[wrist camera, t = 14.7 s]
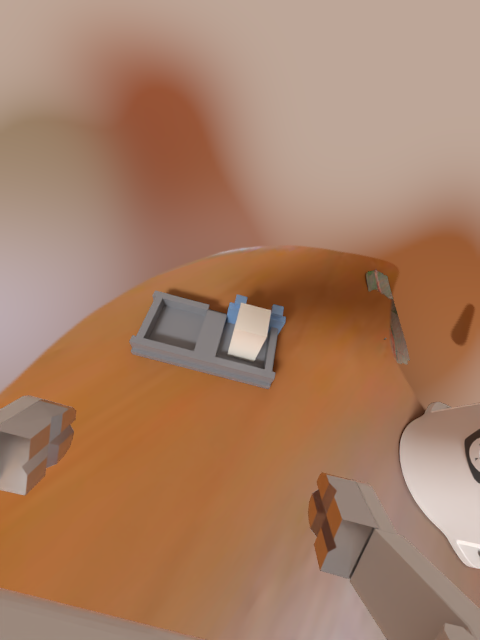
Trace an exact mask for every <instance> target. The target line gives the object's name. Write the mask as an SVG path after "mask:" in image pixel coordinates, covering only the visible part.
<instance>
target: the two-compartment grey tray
mask: <svg viewBox="0 0 480 640" xmlns="http://www.w3.org/2000/svg"><path fill="white" fill-rule="evenodd" d="M247 298H248V297H245V296H241V295H237V297H236V300H235V303H231V302H230V304H229V308H228V313H227V314H225V313H221V312H217V311H214V310H210V309H209V305H208V304H204V303H201V302H197V301H193V300H189V299H185V298H182V297H178V296H174V295H170V294H166V293H163V292H159V291H155V292H154V294H153V299H154V301H153V303H152V305H151V307H150V309H149V311H148V313H147V315H146V317H145V319H144V321H143V324H142V326H141V328H140V330H139V332H138V334H137V336H134V335H132V337H131V339H130V341H129V342H130V344H131V346H132V350H131V353H132V354H134V355H138V356H142V357H145V358H149V359H153V360H157V361H161V362H165V363H169V364H173V365H176V366H180V367H184V368H188V369H192V370H196V371H200V372H204V373H208V374H211V375H215V376H219V377H223V378H227V379H231V380H235V381H239V382H242V383H246V384H250V385H254V386H258V387H262V388H266V389H269V388H270V385H271V383H272V381H273V380H274V379H275V372H273V364H274V357H275V350H276V343H277V336H278V334H279V332H280V331H281V329H282V327H283V326H284V324H285V321H286V317H284V316H283V310H284V307H282V306H279V305H275V304H273V306H272V310H271V316H270V321H269V327H268V333H267V338H266V340H265V341H264V343H263V345H262V347H261V349H260V351H259V353H258V355H257V357H256V359H255V361H254V362H250V361H246V360H243V359H239V358H235V357H231V356H227V354H228V350H229V346H230V342H231V338H232V334H233V331H234V327H235V323H236V320H237V316H238V312H239V309H240V305H241V303H245V304H246V302H247Z"/></svg>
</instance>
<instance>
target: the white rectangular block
mask: <svg viewBox="0 0 480 640" xmlns="http://www.w3.org/2000/svg"><path fill="white" fill-rule="evenodd" d="M270 316H271V310H268V309H264V308H260V307H256V306H253V305H249V304H245V303H241V305H240V309H239V312H238V316H237V320H236V323H235V327H234V331H233V334H232V338H231V342H230V346H229V350H228V354H227V356H231V357H235V358H239V359H243V360H246V361H250V362H254V361H255V359H256V357H257V355H258V353H259V351H260V349H261V347H262V345H263V343H264V341H265V340H266V338H267V333H268V327H269V321H270Z"/></svg>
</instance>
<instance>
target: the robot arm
mask: <svg viewBox="0 0 480 640" xmlns="http://www.w3.org/2000/svg"><path fill="white" fill-rule="evenodd" d="M75 419H76V410H75V409H74V408H73V407H69V406H66V405H62V404H59V403H55V402H52V401H48V400H45V399H44V400H43V399H40V398H37V397H33V396H23V397H21V398H19V399H17V400H16V401H14V402H12V403H10V404H8V405H7V406H5V407H3V408H1V409H0V490H3V491H7V492H12V493H16V494H21V495H26V494H27V493H28V492H29V491H30V490H31V489H32V488H33V487H34V486H35V485H36V484H37V483H38V482H39V481H40V480H41V479H42V478H43V477H44V476H45V472H46V468H48V467H50V466H52V465H55V464H57V463H58V462H59V461H60V460H61V459H62V458H63V457H64V455H65V454H66V452H67V450H68V449H69V447H70V445H71V442H72V440H73V434H74V431H73V429H72V427H71V426H70V424H71V423H72V422H73V421H75ZM400 463H401V468H402V472H403V475H404V478H405V481H406V484H407V486H408V488H409V490H410V492H411V494H412V496H413V498H414V499H415V501H416V503H417V504H418V505H419V507H420V508H421V510H422V511H423V512H424V513H425V515H426V516H427V517H428V518H429V519H430V520H431V521H432V522H433V523H434V524H435V525H436V526H437V527H438V528H439V529H440V530H441V531H442V532H443V533H444V534H445V536H446V537H447V539H448V540H449V542H450V544H451V545H452V547H453V549H454V550H455V552H456V554H457V555H458V557H459V558H460V559H461V561H462V562H463V563H464V564H465V565H467V566H468V567H472V568H478V569H480V403H475V404H470V405H464V406H458V407H450V406H448V405H446V404H444V403H441V402H434V403H431V404H430V405H429V406H428V407H427V409H426V411H425V413H424V415H422V416H421V417H419V418H417V419H415V420H413V421H412V422H411V423H410V424H409V425H408V426H407V427H406V428H405V430H404V432H403V434H402V437H401V441H400ZM317 485H318V490H317V491H315V492H314V493H312V496H311V498H310V501H309V509H308V517H309V524H310V529H311V530H312V531H313V533H314V534H315V535H316V537H317V538H316V541H315V543H314V546H315V551H316V555H317V560H318V564H319V568H320V571H323V572H326V573H330V574H333V575H337V576H340V577H343V578H347V579H350V583H351V584H352V586H353V587H354V589H355V590H356V592H357V594H358V595H359V597H360V598H361V600H362V601H363V603H364V604H365V606H366V608H367V609H368V611H369V612H370V614H371V615H372V617H373V619H374V620H375V622H376V623H377V625H378V626H379V628H380V630H381V631H382V633H383V634H384V636H385V637H386V639H387V640H480V609H479V608H478V607H477V606H476V605H475V604H474V603H473V602H472V601H471V600H470V599H469V598H468V597H467V596H466V595H465V594H464V593H463V592H462V591H461V590H459V589H458V588H457V587H456V586H455V585H454V584H453V583H452V582H451V581H450V580H449V579H448V578H447V577H446V576H445V575H444V574H443V573H442V572H441V571H440V570H439V569H437V568H436V567H435V566H434V565H433V564H432V563H431V562H430V561H429V560H428V559H427V558H426V557H425V556H424V555H423V554H422V553H421V552H420V551H419V550H418V549H417V548H415V547H414V546H413V545H412V544H411V543H410V542H409V541H408V540H407V539H406V538H405V537H404V536H401V535H398V533H397V532H396V530H395V528H394V526H393V524H392V522H391V521H390V519H389V517H388V515H387V513H386V511H385V510H384V508H383V506H382V504H381V502H380V500H379V499H378V497H377V495H376V493H375V491H374V490H373V488H372V486H371V485H370V484H368V483H365V482H361V481H356V480H350V479H346V478H342V477H338V476H334V475H330V474H327V473H323V472H322V473H321V474H320V476H319V478H318V480H317ZM478 552H479V555H478ZM0 640H207V639H203V638H199V637H195V636H191V635H187V634H183V633H179V632H175V631H171V630H167V629H163V628H159V627H155V626H151V625H147V624H143V623H139V622H135V621H131V620H127V619H123V618H119V617H115V616H111V615H107V614H103V613H99V612H95V611H91V610H87V609H83V608H79V607H75V606H71V605H67V604H63V603H59V602H55V601H51V600H47V599H43V598H39V597H35V596H31V595H27V594H23V593H19V592H15V591H11V590H7V589H3V588H0Z"/></svg>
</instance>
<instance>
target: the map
mask: <svg viewBox="0 0 480 640" xmlns="http://www.w3.org/2000/svg"><path fill="white" fill-rule="evenodd" d="M366 279H367V285H368V291H371V290H374V289H376V290H378V291H380V292H381V293H383V294H385V295H386V296H387V297H388V298H389V299H392V302H391V313H390V314H391V315H390V316H391V317H390V340H391V346H392V350H393V354H394V356H395V359H396V361H397V363H400V364H402V363H404V364H408V363H407V362H408V360H409V361H410V359H409V354H408V349H407V345H406V341H405V338H404V334H403V331H402V328H401V324H400V321H399V317H398V314H397V310H396V307H395V304H394V300H393V296H392V293H391V289H390V285H389V282H388V277H387V276H386V275H383V273H380V272H379V271H378V272H377V270H373V271H370V272H369V271H368V273H367V274H366ZM378 288H379V289H378ZM385 339H386V338H385ZM385 339H384V340H385Z"/></svg>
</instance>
